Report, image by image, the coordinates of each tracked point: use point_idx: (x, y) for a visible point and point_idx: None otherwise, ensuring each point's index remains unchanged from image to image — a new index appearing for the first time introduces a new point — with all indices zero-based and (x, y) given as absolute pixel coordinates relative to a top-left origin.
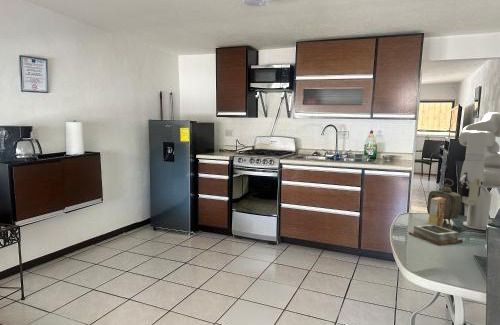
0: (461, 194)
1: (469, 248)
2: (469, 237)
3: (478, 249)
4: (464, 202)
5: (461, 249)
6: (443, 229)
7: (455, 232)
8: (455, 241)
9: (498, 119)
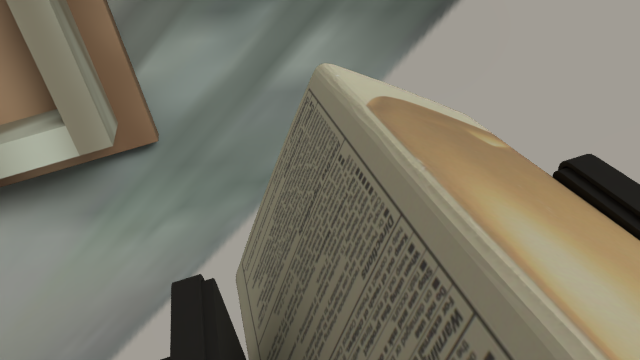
0: (171, 300)
1: (101, 273)
2: (326, 17)
3: (162, 284)
4: (274, 176)
5: (14, 298)
6: (16, 17)
7: (77, 150)
8: (64, 164)
9: None
